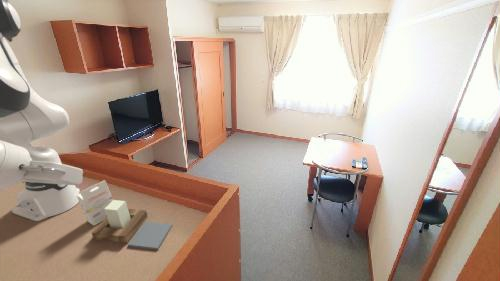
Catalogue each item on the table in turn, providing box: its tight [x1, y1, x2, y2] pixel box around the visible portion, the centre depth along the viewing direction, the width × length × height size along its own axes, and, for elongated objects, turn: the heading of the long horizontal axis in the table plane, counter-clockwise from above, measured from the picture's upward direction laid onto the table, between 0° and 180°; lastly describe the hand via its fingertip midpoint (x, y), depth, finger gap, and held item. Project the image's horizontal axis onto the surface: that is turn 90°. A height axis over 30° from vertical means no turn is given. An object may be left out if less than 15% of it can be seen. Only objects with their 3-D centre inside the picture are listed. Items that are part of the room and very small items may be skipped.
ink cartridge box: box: [77, 179, 114, 226], centre depth 82 cm, size 9×5×15 cm, turn 148°
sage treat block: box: [104, 199, 131, 229], centre depth 78 cm, size 4×4×10 cm
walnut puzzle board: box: [91, 208, 148, 244], centre depth 80 cm, size 12×12×3 cm
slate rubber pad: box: [127, 220, 173, 251], centre depth 77 cm, size 10×10×1 cm
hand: (62, 179), depth 57 cm, fingers open, 8 cm apart
